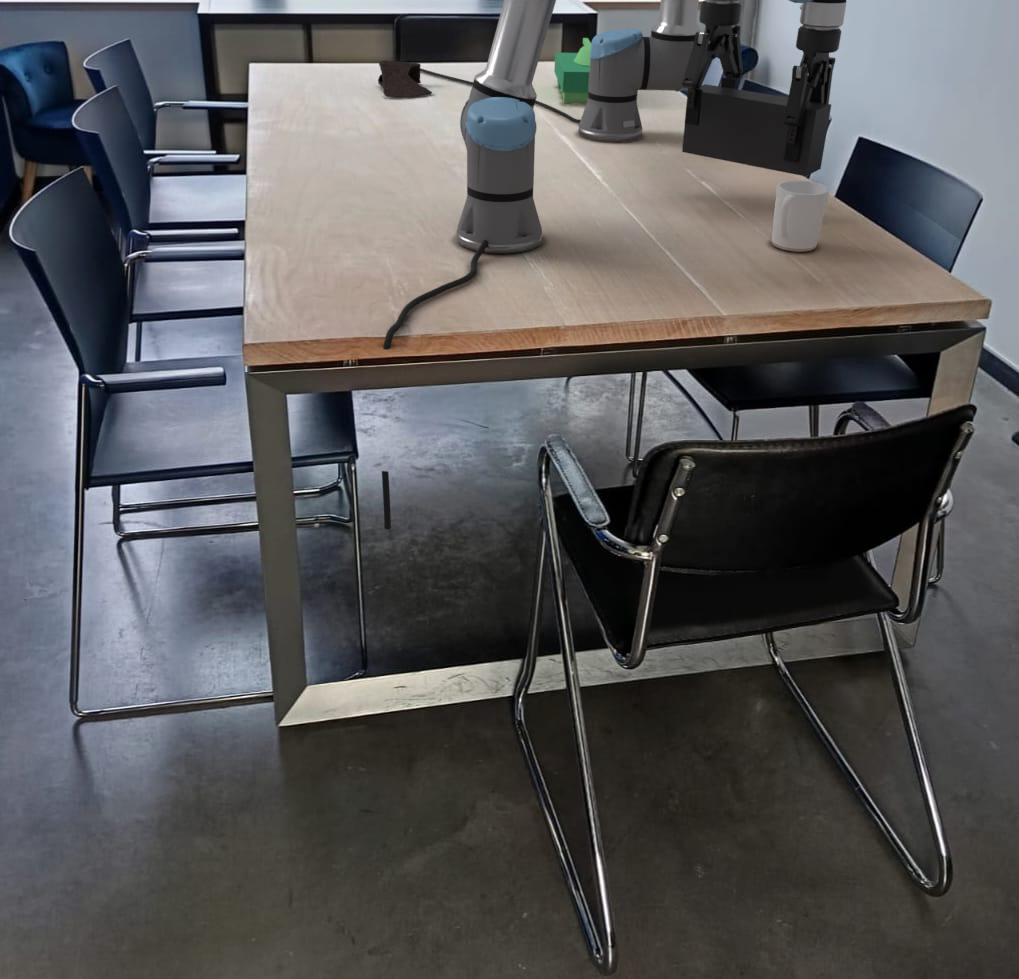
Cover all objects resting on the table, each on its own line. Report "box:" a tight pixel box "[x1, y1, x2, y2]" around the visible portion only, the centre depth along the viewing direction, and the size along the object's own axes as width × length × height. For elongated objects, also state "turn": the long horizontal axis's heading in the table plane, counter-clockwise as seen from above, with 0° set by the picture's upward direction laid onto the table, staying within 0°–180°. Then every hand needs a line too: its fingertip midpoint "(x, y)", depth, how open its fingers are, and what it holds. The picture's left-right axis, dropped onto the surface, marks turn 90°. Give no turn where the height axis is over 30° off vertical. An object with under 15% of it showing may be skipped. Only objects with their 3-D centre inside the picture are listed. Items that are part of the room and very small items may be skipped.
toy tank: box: [554, 37, 592, 104], centre depth 300 cm, size 18×12×35 cm
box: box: [681, 84, 832, 177], centre depth 210 cm, size 26×7×12 cm, turn 53°
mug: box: [770, 179, 830, 253], centre depth 193 cm, size 11×9×10 cm
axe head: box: [377, 59, 433, 99], centre depth 299 cm, size 18×8×15 cm
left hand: (799, 156), depth 207 cm, fingers closed on box, 7 cm apart
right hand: (708, 118), depth 215 cm, fingers open, 13 cm apart
